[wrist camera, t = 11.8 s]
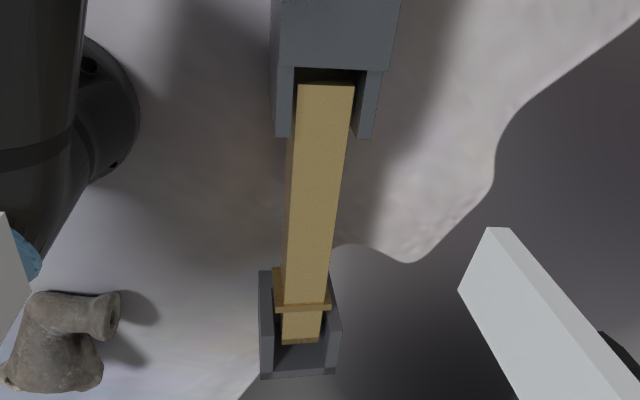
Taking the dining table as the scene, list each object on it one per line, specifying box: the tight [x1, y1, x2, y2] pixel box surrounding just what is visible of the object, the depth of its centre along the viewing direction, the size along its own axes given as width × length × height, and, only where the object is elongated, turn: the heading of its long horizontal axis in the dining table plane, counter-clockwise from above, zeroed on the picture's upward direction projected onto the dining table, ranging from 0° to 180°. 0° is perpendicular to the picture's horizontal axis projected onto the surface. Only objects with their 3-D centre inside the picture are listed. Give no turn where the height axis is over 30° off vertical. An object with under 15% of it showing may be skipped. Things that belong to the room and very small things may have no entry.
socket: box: [258, 270, 343, 380], centre depth 53 cm, size 10×8×10 cm
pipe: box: [0, 291, 121, 393], centre depth 52 cm, size 16×9×15 cm
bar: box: [272, 67, 355, 345], centre depth 43 cm, size 6×32×6 cm, turn 175°
